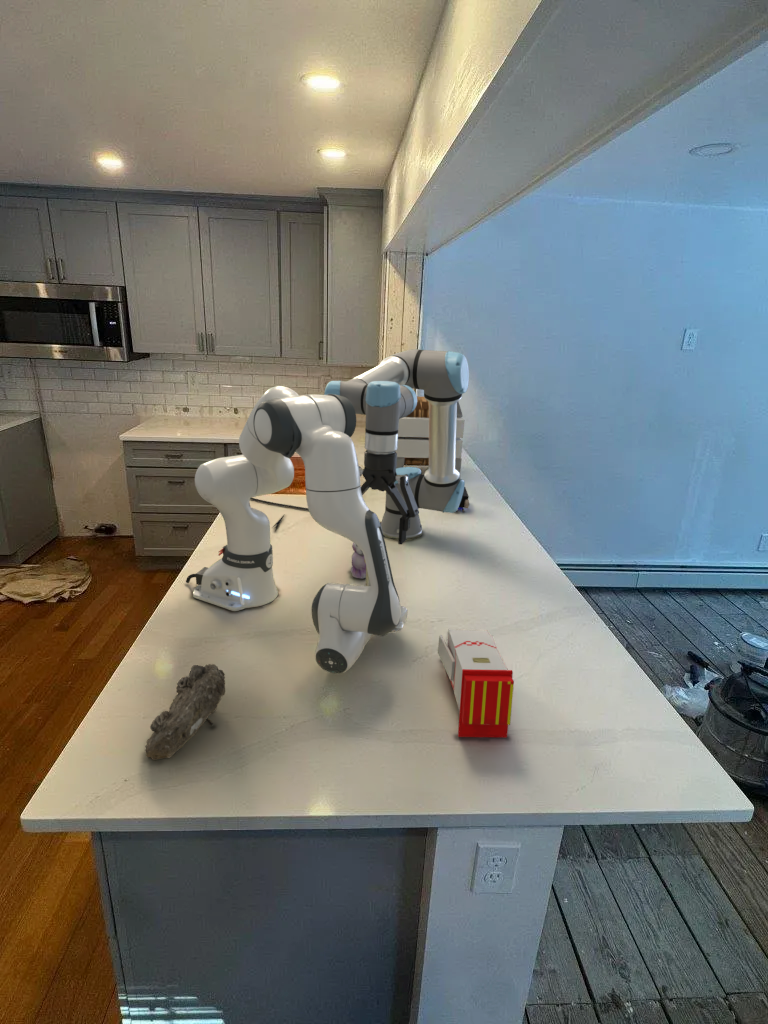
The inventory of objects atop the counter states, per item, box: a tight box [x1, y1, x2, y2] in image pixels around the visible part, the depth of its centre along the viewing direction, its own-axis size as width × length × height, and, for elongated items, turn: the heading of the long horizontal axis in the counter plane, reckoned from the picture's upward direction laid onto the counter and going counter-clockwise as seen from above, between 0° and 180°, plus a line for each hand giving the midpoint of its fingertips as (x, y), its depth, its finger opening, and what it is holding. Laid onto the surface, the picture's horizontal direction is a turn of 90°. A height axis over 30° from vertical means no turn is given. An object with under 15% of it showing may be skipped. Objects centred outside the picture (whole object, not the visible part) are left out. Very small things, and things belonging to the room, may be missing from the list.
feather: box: [270, 514, 286, 532], centre depth 209 cm, size 2×28×2 cm
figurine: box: [350, 542, 366, 580], centre depth 167 cm, size 9×10×15 cm
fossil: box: [144, 663, 226, 761], centre depth 105 cm, size 22×10×15 cm
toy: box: [437, 628, 515, 738], centre depth 117 cm, size 12×13×30 cm
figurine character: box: [455, 486, 470, 513], centre depth 227 cm, size 7×8×15 cm
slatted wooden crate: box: [395, 395, 465, 479], centre depth 268 cm, size 34×33×41 cm
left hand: (374, 597), depth 143 cm, fingers open, 8 cm apart
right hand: (377, 537), depth 137 cm, fingers open, 12 cm apart
